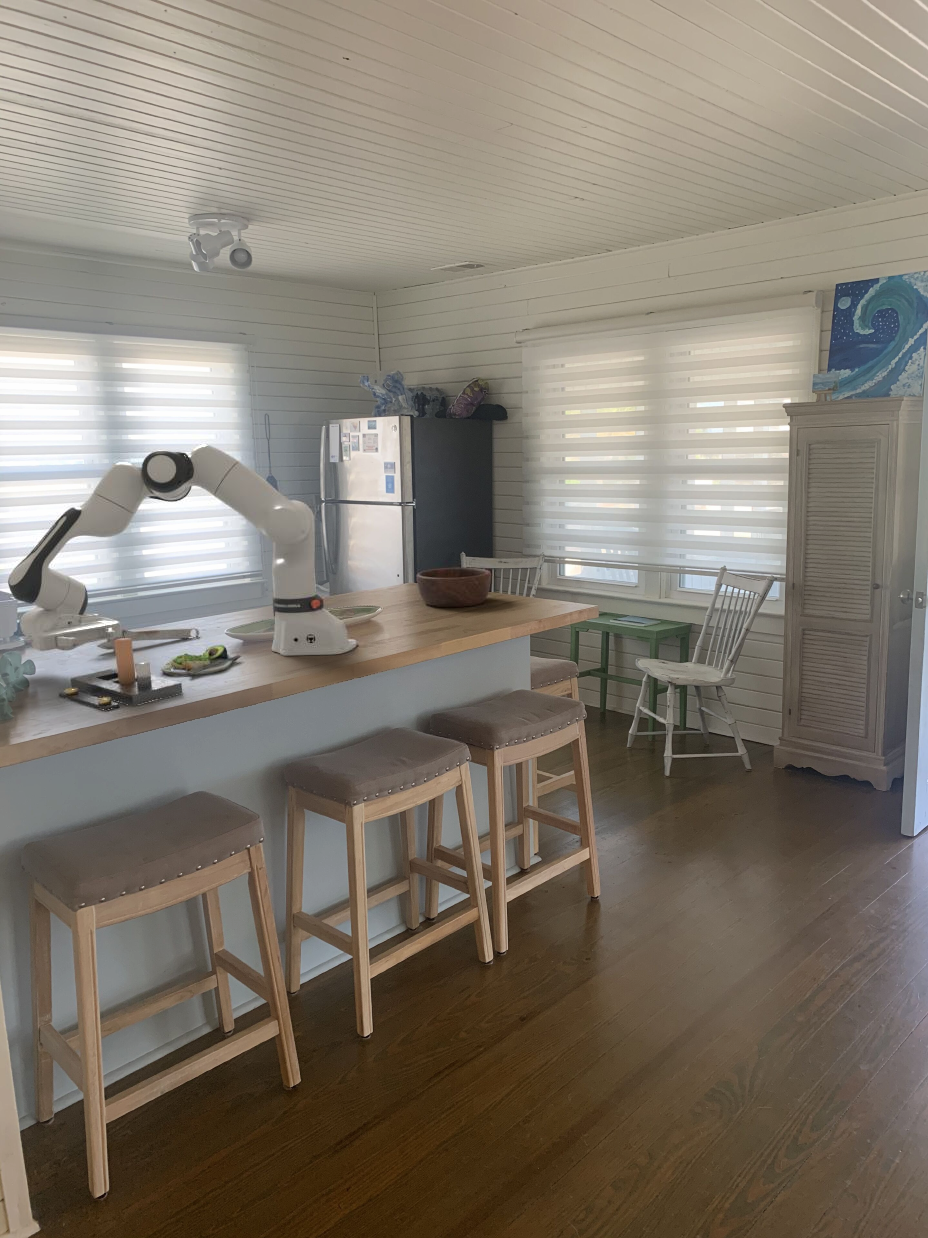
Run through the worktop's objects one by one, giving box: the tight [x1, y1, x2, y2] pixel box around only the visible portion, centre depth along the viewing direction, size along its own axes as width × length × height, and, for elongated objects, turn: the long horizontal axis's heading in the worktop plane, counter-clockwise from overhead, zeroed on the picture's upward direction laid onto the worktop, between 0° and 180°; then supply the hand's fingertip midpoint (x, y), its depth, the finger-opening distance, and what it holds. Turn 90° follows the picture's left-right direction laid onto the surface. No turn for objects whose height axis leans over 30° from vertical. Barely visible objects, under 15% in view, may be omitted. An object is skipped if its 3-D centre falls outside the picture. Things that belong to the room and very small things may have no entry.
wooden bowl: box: [416, 567, 492, 608], centre depth 301 cm, size 25×25×10 cm
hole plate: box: [58, 661, 183, 711], centre depth 200 cm, size 26×17×8 cm, turn 51°
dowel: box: [114, 638, 136, 685], centre depth 201 cm, size 4×4×12 cm
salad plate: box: [160, 644, 242, 676], centre depth 221 cm, size 19×18×5 cm
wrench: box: [96, 627, 200, 651], centre depth 250 cm, size 8×2×30 cm
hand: (93, 638), depth 208 cm, fingers open, 8 cm apart
